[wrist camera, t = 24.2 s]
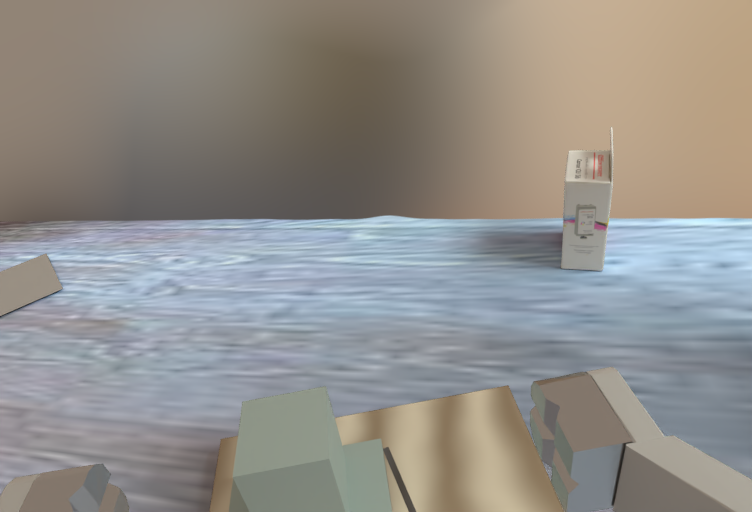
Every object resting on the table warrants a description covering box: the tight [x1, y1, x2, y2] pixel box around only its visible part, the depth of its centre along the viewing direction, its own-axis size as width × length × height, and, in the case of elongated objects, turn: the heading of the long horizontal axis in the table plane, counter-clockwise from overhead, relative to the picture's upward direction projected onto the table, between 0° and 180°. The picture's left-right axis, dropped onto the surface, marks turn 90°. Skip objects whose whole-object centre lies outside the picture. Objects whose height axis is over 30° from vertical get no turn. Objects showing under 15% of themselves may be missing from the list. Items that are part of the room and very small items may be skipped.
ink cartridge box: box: [561, 127, 613, 271], centre depth 61 cm, size 9×5×15 cm, turn 161°
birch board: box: [209, 386, 564, 512], centre depth 40 cm, size 26×16×2 cm, turn 97°
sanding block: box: [229, 386, 392, 512], centre depth 37 cm, size 12×8×9 cm, turn 97°
